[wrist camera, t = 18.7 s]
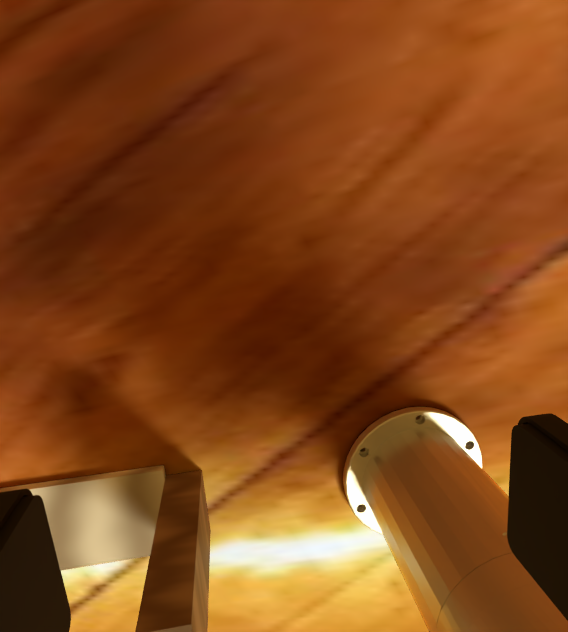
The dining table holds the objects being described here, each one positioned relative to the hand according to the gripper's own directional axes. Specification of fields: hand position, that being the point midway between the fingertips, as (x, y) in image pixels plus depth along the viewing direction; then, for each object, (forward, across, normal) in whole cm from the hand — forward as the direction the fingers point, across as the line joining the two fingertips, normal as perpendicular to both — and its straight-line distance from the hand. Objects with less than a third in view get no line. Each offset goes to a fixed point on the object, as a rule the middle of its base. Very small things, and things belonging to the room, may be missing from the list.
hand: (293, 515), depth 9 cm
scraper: (+28, +15, +19) cm, 37 cm away
